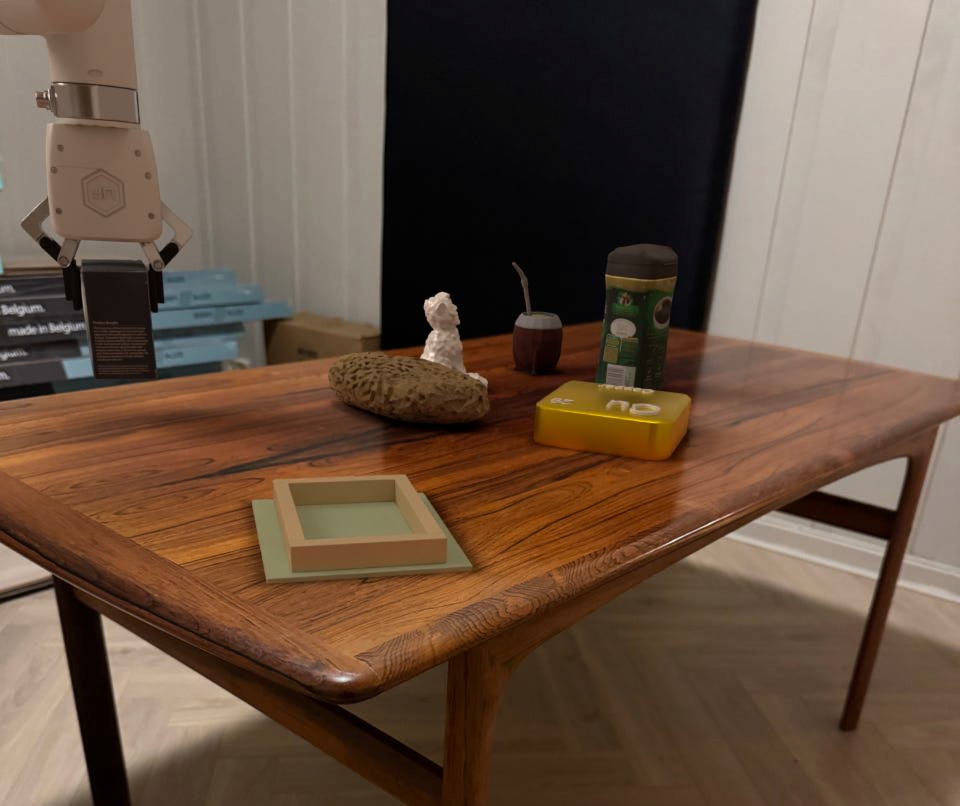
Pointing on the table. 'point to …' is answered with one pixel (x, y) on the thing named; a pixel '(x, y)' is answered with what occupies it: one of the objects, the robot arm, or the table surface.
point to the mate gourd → (536, 338)
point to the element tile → (612, 420)
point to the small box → (118, 319)
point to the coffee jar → (637, 316)
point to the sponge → (408, 388)
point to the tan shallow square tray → (352, 530)
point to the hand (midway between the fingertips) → (117, 308)
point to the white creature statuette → (445, 335)
